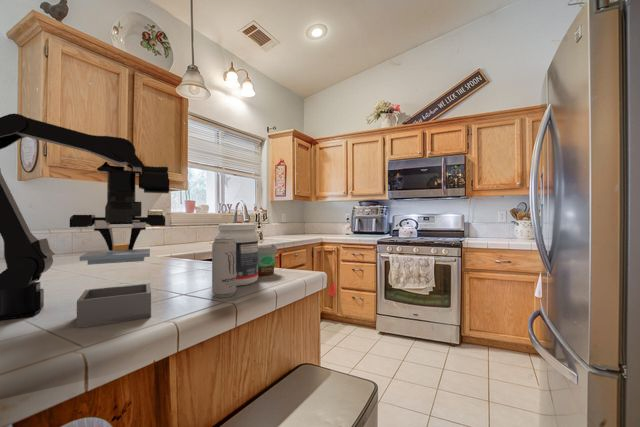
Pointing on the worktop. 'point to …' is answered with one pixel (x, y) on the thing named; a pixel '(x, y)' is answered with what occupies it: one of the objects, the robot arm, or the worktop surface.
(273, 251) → the food container
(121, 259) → the lid
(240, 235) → the supplement tub
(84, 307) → the parts tub
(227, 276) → the energy drink can
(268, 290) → the worktop surface
